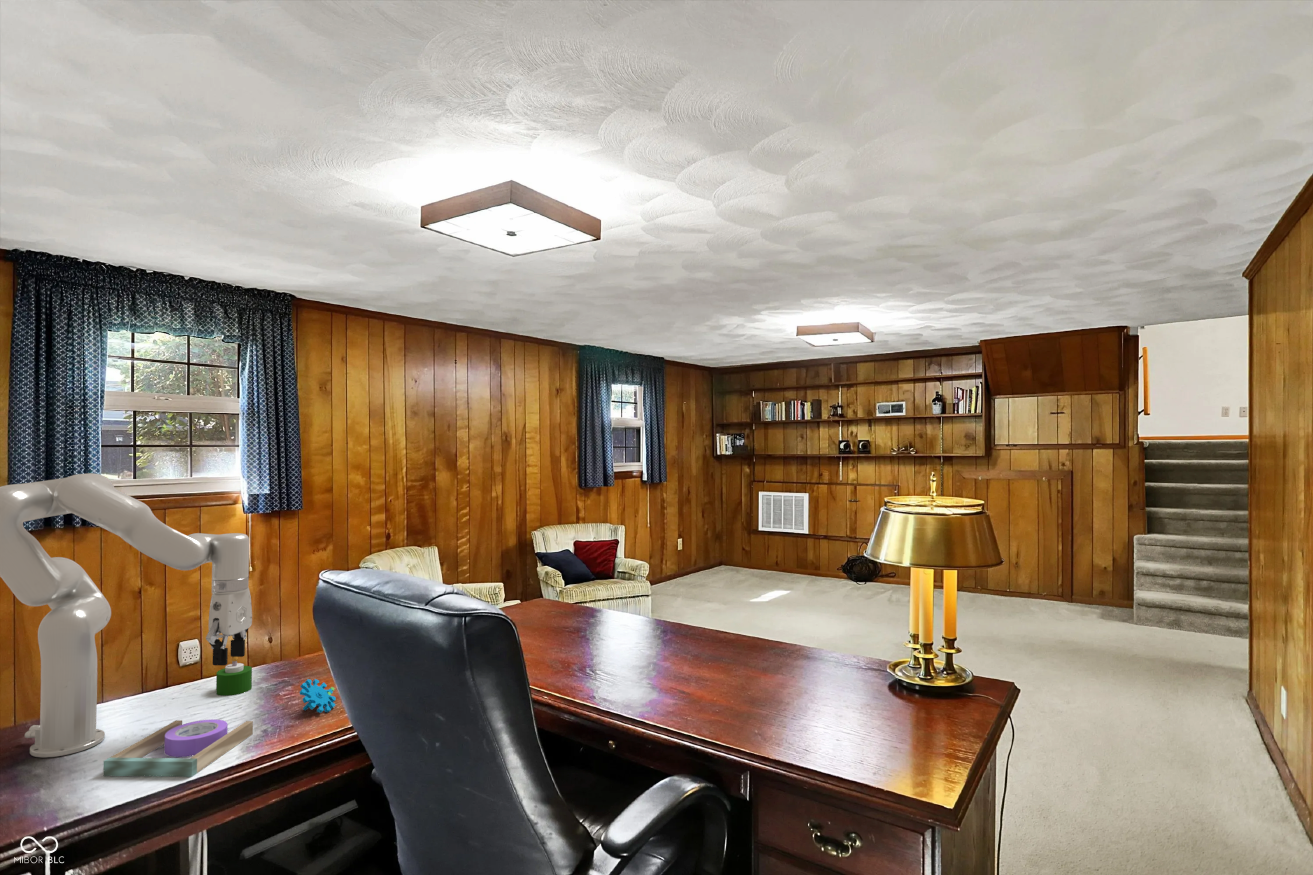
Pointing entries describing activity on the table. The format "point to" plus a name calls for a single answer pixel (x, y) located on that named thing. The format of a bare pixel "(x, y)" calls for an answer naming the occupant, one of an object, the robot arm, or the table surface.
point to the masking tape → (193, 737)
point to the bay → (135, 765)
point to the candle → (233, 679)
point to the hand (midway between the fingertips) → (228, 659)
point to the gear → (317, 696)
